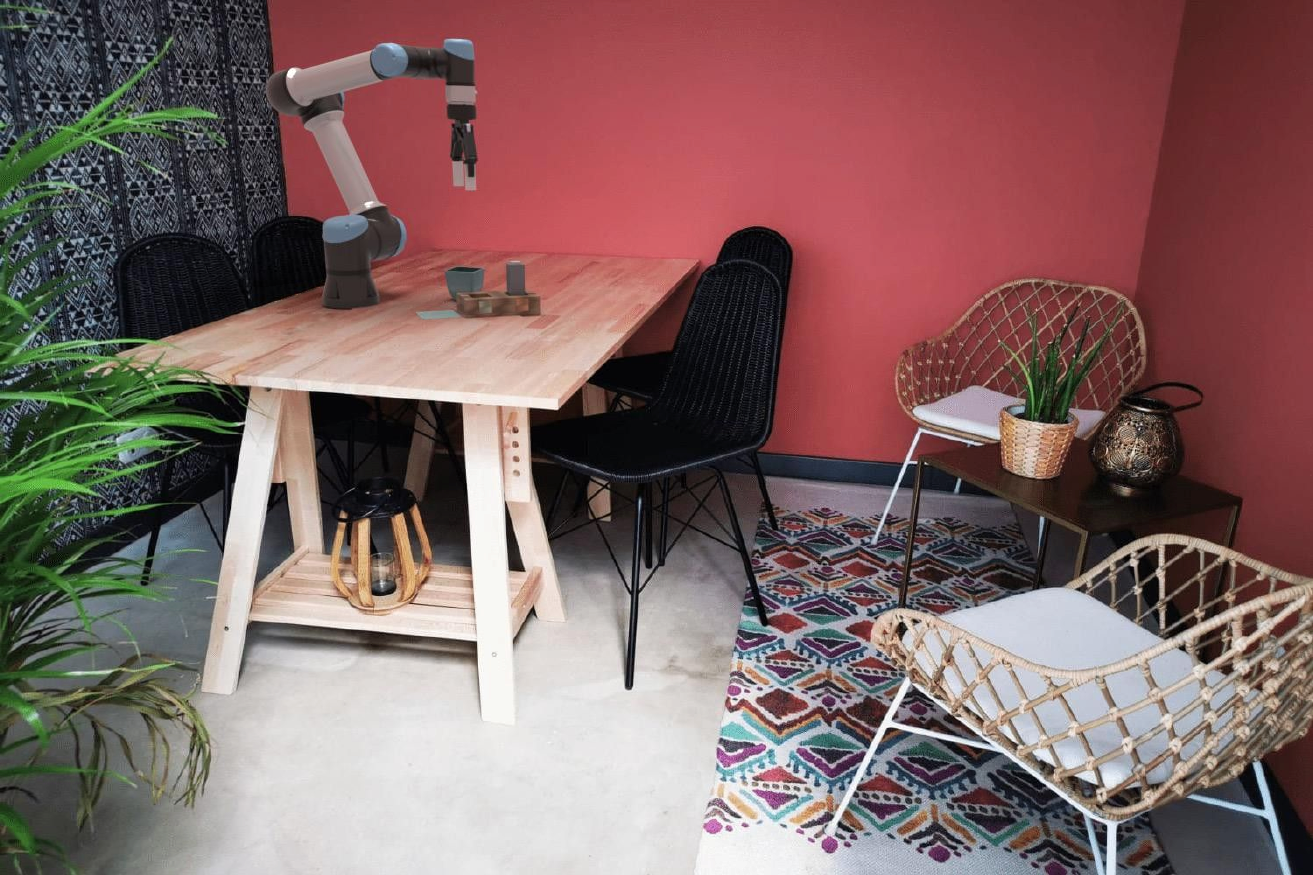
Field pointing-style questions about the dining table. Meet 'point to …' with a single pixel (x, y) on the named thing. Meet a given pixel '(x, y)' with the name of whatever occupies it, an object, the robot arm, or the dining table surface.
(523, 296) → the socket block
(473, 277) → the flower pot
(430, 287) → the dining table surface
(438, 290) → the dining table surface
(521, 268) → the plug
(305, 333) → the dining table surface
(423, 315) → the mat
